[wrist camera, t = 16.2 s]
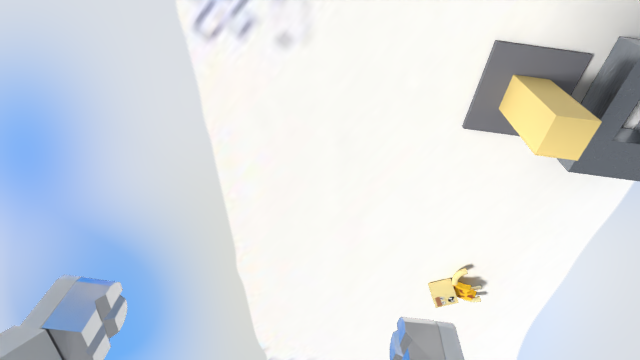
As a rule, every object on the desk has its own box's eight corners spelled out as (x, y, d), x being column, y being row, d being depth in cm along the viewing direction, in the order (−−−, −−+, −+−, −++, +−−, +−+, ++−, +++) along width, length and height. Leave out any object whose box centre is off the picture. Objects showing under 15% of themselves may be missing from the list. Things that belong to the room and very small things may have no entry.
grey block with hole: (619, 36, 37) (645, 48, 34) (715, 50, 38) (749, 62, 34) (552, 153, 46) (568, 171, 42) (631, 164, 46) (653, 183, 43)
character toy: (488, 309, 59) (438, 317, 61) (482, 292, 61) (434, 301, 64) (480, 277, 55) (427, 288, 57) (474, 260, 57) (423, 271, 59)
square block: (513, 74, 40) (556, 115, 32) (549, 79, 40) (602, 121, 32) (498, 108, 42) (534, 155, 34) (533, 113, 42) (577, 160, 34)
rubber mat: (495, 40, 38) (497, 42, 38) (589, 53, 39) (592, 55, 38) (462, 126, 44) (463, 128, 44) (544, 137, 44) (546, 139, 44)
